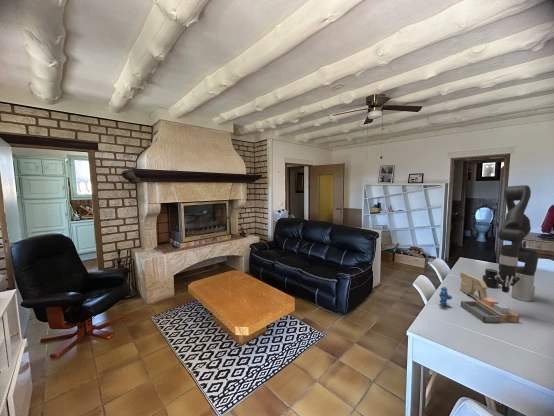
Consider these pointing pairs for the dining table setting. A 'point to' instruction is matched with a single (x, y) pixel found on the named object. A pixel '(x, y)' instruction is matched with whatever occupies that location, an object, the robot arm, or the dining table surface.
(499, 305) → the pale blue-gray cube
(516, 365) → the dining table surface
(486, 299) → the cube terracotta
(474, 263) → the dining table surface
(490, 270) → the ink bottle
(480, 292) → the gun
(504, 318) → the board
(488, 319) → the tray
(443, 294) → the grapes
